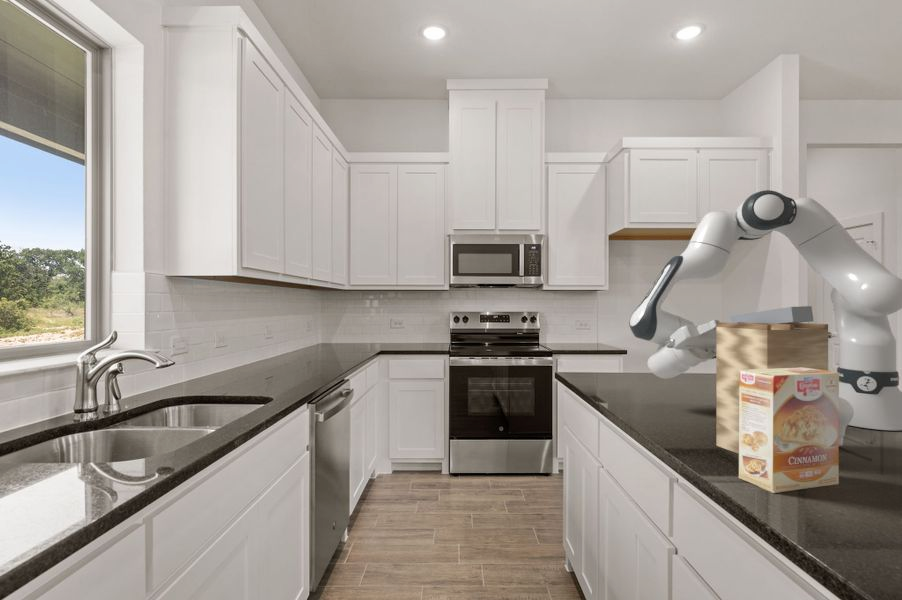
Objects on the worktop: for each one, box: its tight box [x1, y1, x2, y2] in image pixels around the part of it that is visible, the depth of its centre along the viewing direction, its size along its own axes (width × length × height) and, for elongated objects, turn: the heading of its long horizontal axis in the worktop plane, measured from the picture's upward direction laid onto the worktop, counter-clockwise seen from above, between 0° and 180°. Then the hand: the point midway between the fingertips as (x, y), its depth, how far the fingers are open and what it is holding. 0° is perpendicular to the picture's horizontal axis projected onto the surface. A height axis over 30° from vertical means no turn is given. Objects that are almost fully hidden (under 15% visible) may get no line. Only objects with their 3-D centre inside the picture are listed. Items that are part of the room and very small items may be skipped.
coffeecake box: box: [738, 367, 840, 494], centre depth 81 cm, size 15×7×20 cm, turn 105°
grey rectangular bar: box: [730, 305, 814, 324], centre depth 101 cm, size 20×4×3 cm, turn 0°
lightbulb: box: [839, 397, 854, 447], centre depth 100 cm, size 6×6×11 cm
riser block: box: [715, 321, 829, 455], centre depth 98 cm, size 12×16×27 cm
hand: (733, 322), depth 112 cm, fingers open, 8 cm apart
